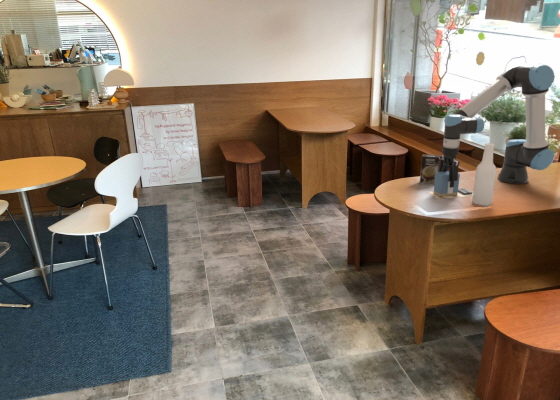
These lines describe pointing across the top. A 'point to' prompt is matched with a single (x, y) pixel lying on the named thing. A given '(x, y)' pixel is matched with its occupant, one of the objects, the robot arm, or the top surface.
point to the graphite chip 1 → (462, 191)
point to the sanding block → (444, 184)
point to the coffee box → (429, 168)
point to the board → (450, 195)
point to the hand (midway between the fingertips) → (446, 190)
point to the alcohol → (485, 178)
